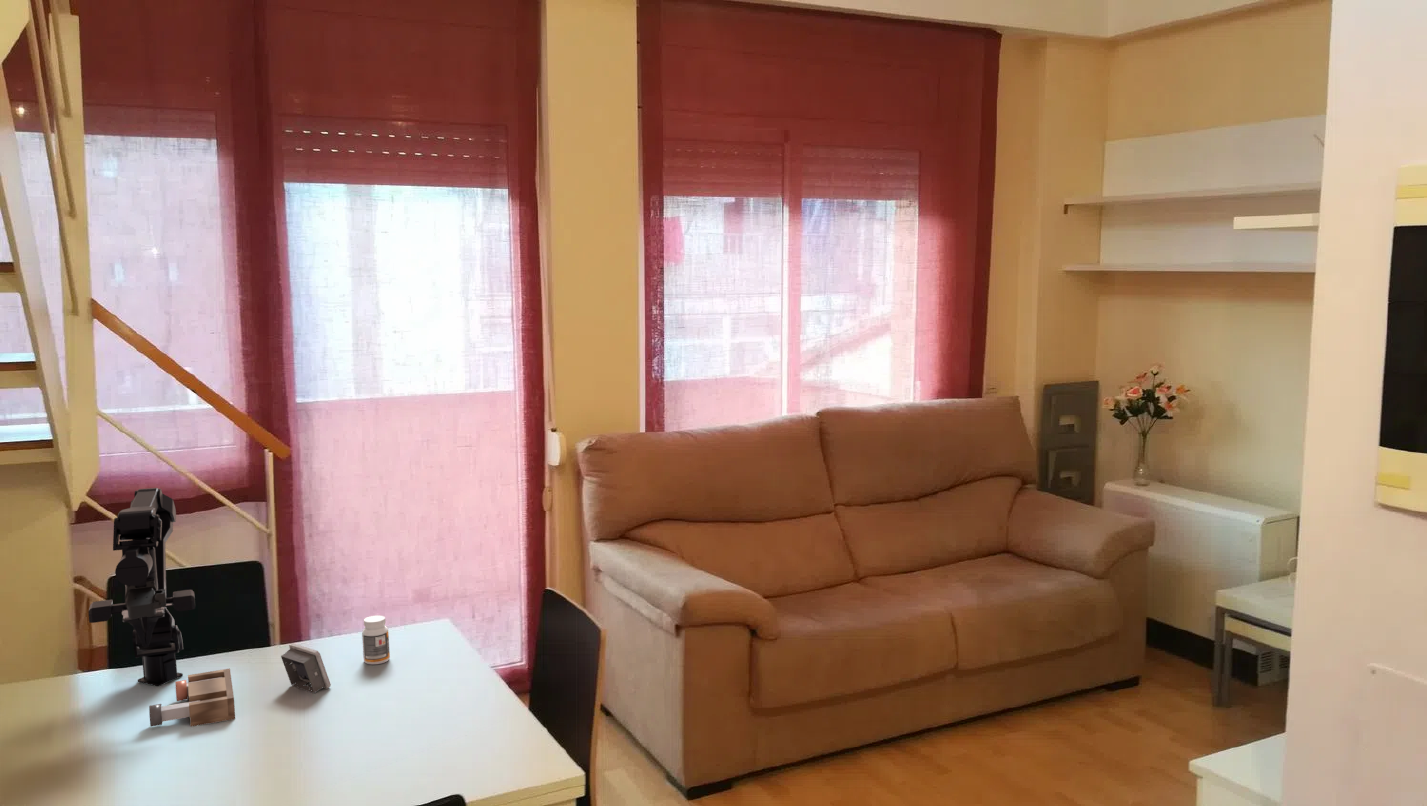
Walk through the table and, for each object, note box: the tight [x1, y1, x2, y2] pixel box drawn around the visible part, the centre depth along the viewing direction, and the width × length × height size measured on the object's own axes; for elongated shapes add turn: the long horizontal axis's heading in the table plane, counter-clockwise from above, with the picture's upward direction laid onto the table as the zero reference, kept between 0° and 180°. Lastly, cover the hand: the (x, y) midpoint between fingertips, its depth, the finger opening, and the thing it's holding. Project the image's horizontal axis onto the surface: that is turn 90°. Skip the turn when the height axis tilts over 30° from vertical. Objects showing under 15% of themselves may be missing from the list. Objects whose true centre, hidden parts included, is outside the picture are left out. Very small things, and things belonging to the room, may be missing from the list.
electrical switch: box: [280, 643, 332, 694], centre depth 225 cm, size 9×5×9 cm, turn 57°
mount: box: [187, 667, 236, 727], centre depth 217 cm, size 8×17×4 cm, turn 27°
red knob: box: [174, 677, 222, 702], centre depth 221 cm, size 9×4×4 cm, turn 117°
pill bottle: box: [361, 615, 391, 666], centre depth 241 cm, size 6×6×10 cm
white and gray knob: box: [148, 700, 200, 728], centre depth 209 cm, size 9×4×4 cm, turn 117°
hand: (146, 646), depth 215 cm, fingers closed
